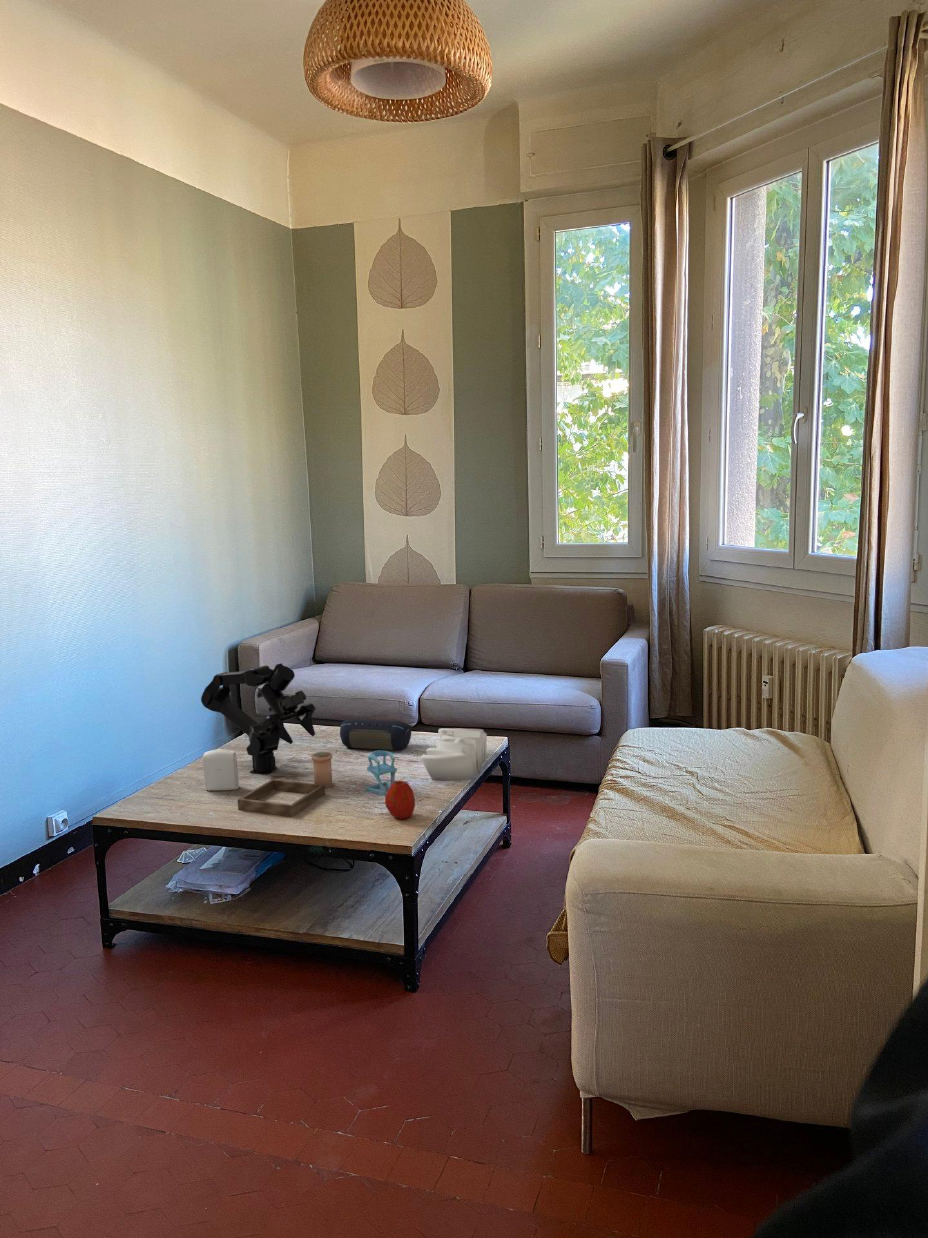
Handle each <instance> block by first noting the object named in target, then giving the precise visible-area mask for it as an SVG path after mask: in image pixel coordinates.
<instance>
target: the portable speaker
mask: <svg viewBox="0 0 928 1238" xmlns="http://www.w3.org/2000/svg"><path fill="white" fill-rule="evenodd" d="M339 736H340V741H341V743H342V744H343V746H345V747H347V748H352V749H353V748H354V749H371V750H385V751H387V750H389V751H391V750H392V751H400V750H404V749H406V748H407V747H408V746H409V744H410V741H411V738H412V727H411V725H410V724H408V722H404V721H401V720H391V719H389V720H384V719H366V718H364V719H363V718H349V719H345V720H343V721H342V722H341V724H340V727H339Z"/></svg>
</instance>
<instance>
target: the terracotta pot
mask: <svg viewBox="0 0 928 1238" xmlns="http://www.w3.org/2000/svg"><path fill="white" fill-rule="evenodd" d="M310 758H311V761H312V762H313V763H312V764H313V765H312V767H313V768H312V769H313V781H314V782H313V784H322V785H325V790H328V789H331V788H333V772H332V771H333V770H332V769H333V768H332V759H333V753H332V752H330V751H319V752H314V753H313V754H311V757H310Z"/></svg>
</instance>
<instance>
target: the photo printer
mask: <svg viewBox="0 0 928 1238" xmlns="http://www.w3.org/2000/svg"><path fill="white" fill-rule="evenodd" d="M202 765H203V767H202V768H203V777H204V778H203V779H204V788H205V791H207V790H208V791H233V790H234V791H235V790H238V789H239V788H240V783H239V769H238V768H239V767H238V757H237V753H236V751H234V750H230V749H224V748H223V749H220V748H219V749H212V750H208V751H205V752H204V753H203V755H202Z"/></svg>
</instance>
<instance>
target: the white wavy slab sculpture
mask: <svg viewBox="0 0 928 1238" xmlns="http://www.w3.org/2000/svg"><path fill="white" fill-rule="evenodd" d="M438 736H439V738H438V739H435V740H434V744H435V745H436V747H428V748H427V749H426V750H425V752H426V754H422V755H421V756H420V762H422V764H423V766H424V768H425V770H426V771H427V773H428V775H429V777H430V778H431V780H432V781H439V782H459V781H467V780H473V779H476V776H477V775H478V771H481V768H483V764H485V762H486V761H487V759H488V758H487V757H488V755H487V753H488V752H487V749H488V748H487V747H488V745H487V740H488V739H487V737H488V734H487V732H485V731H484V729H483V728H482V729H481V728H462V727H461V728H456V727H455V728H454V727H453V728H442V727H441V728H439V729H438Z"/></svg>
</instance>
